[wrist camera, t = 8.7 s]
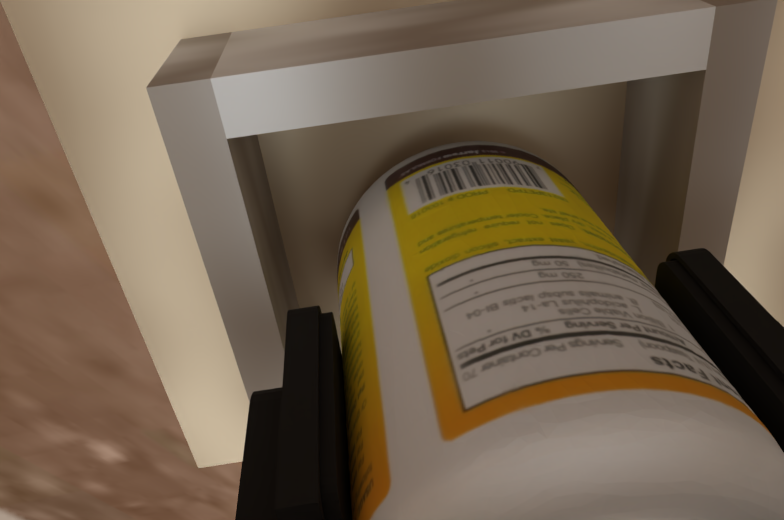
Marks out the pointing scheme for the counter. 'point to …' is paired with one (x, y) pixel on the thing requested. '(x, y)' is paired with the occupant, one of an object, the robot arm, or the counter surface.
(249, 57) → the socket base
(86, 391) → the counter surface
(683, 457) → the supplement bottle
